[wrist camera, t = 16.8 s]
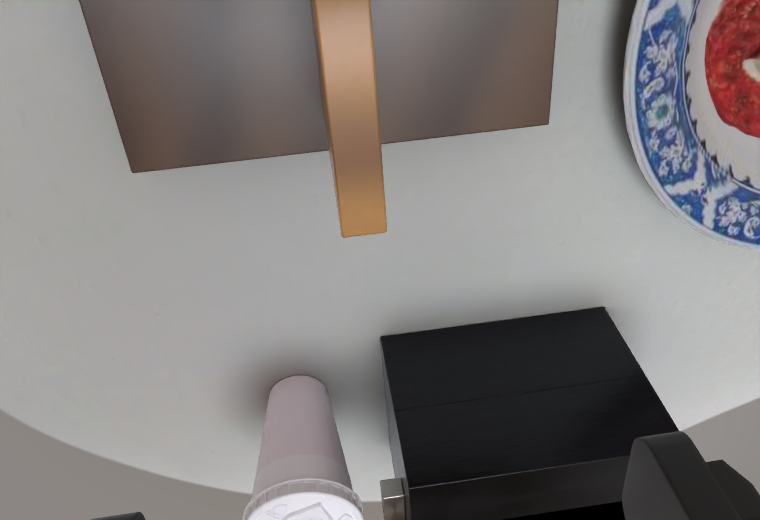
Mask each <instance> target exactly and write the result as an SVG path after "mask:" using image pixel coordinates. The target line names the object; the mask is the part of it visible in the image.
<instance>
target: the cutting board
mask: <svg viewBox="0 0 760 520" xmlns="http://www.w3.org/2000/svg"><path fill="white" fill-rule="evenodd" d="M370 1H371V15H372V29H373V43H374V56H375V70H376V84H377V98H378V112H379V125H380V139H381V144H387V143H395V142H404V141H412V140H421V139H429V138H438V137H446V136H455V135H463V134H472V133H481V132H489V131H498V130H506V129H515V128H523V127H532V126H540V125H548V124H549V114H550V102H551V89H552V76H553V64H554V51H555V38H556V26H557V13H558V0H370ZM79 2H80V5H81V9H82V12H83V15H84V18H85V22H86V25H87V28H88V31H89V35H90V38H91V41H92V44H93V48H94V51H95V54H96V57H97V61H98V64H99V67H100V70H101V74H102V77H103V80H104V83H105V87H106V90H107V93H108V96H109V100H110V103H111V106H112V109H113V113H114V116H115V119H116V122H117V126H118V129H119V132H120V135H121V139H122V142H123V145H124V148H125V152H126V155H127V158H128V161H129V165H130V168H131V171H132V173H139V172H148V171H156V170H165V169H173V168H182V167H190V166H199V165H207V164H216V163H224V162H233V161H242V160H250V159H259V158H267V157H276V156H284V155H293V154H301V153H310V152H318V151H327V150H329V146H328V139H327V133H326V126H325V119H324V111H323V102H322V94H321V86H320V78H319V69H318V61H317V53H316V45H315V36H314V28H313V20H312V12H311V3H310V0H79Z"/></svg>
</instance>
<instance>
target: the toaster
mask: <svg viewBox="0 0 760 520" xmlns="http://www.w3.org/2000/svg"><path fill="white" fill-rule="evenodd" d="M380 341H381V352H382V364H383V375H384V386H385V397H386V409H387V420H388V431H389V442H390V450H391V455H392V461H393V467H394V473H395V478H394V479H387V480H381V481H380V487H381V496H382V505H383V512H384V519H385V520H625V516H624V511H623V505H622V492H623V487H624V482H625V477H626V473H627V468H628V463H629V458H630V453H631V448H632V444H633V441H634V440H635V439H636V438H638V437H645V436H651V435H658V434H664V433H671V432H677V431H679V430H678V428H677V427H676V425H675V423H674V422H673V420H672V418H671V417H670V415H669V413H668V412H667V410H666V408H665V407H664V405H663V403H662V402H661V400H660V399H659V397H658V395H657V394H656V392H655V390H654V389H653V387H652V385H651V384H650V382H649V380H648V379H647V377H646V376H645V374H644V372H643V370H642V369H641V367H640V365H639V364H638V362H637V360H636V359H635V357H634V356H633V354H632V352H631V351H630V349H629V347H628V346H627V344H626V342H625V341H624V339H623V337H622V336H621V334H620V332H619V331H618V329H617V327H616V326H615V324H614V322H613V321H612V319H611V317H610V316H609V314H608V313H607V311H606V309H605V308H604V307H602V308H594V309H587V310H579V311H572V312H564V313H557V314H549V315H542V316H535V317H527V318H520V319H512V320H505V321H497V322H490V323H482V324H475V325H468V326H460V327H453V328H445V329H438V330H430V331H423V332H415V333H408V334H400V335H393V336H386V337H381V338H380Z"/></svg>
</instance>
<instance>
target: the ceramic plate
mask: <svg viewBox="0 0 760 520" xmlns="http://www.w3.org/2000/svg"><path fill="white" fill-rule="evenodd" d="M623 101H624V110H625V119H626V128H627V132H628V136H629V139H630V142H631V145H632V148H633V151H634V155H635V158H636V161H637V163H638V165H639V167H640V169H641V171H642V173H643V175H644V177H645V179H646V181H647V182H648V184H649V185H650V187H651V188H652V189H653V191H654V192H655V194H656V195H657V196H658V198H659V199H660V200H661V201H662V202H663V204H664V205H665V206H666V207H667V208H668V209H669V210H670V211H671V212H672V213H673V214H675V215H676V216H677V217H678V218H679V219H680V220H682V221H683V222H684V223H686V224H687V225H689V226H690V227H692V228H694V229H695V230H697V231H698V232H700V233H703V234H705V235H707V236H709V237H711V238H713V239H716V240H719V241H721V242H724V243H727V244H730V245H734V246H739V247H744V248H748V249H753V250H760V0H637V1H636V4H635V8H634V11H633V14H632V19H631V24H630V28H629V33H628V38H627V43H626V51H625V60H624V69H623Z"/></svg>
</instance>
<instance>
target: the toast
mask: <svg viewBox="0 0 760 520" xmlns="http://www.w3.org/2000/svg"><path fill="white" fill-rule="evenodd" d="M310 3H311V12H312V20H313V28H314V36H315V45H316V53H317V61H318V69H319V78H320V86H321V94H322V102H323V111H324V119H325V126H326V133H327V139H328V146H329V153H330V160H331V167H332V173H333V180H334V187H335V194H336V201H337V208H338V214H339V221H340V228H341V235H342V237H352V236H360V235H368V234H376V233H384V232H386V231H387V222H386V208H385V195H384V181H383V167H382V153H381V139H380V125H379V112H378V98H377V84H376V70H375V56H374V43H373V29H372V15H371V1H370V0H310Z"/></svg>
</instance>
